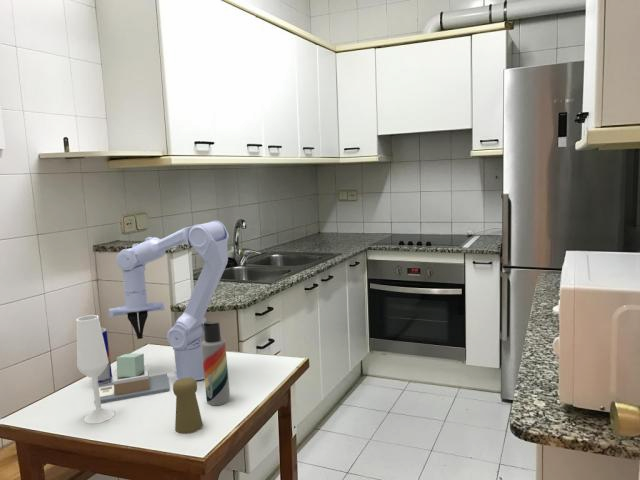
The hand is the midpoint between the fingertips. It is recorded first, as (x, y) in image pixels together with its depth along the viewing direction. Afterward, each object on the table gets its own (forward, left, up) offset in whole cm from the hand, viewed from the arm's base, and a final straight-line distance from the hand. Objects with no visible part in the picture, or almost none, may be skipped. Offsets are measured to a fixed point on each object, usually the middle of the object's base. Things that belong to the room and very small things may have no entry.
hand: (140, 337), depth 152 cm
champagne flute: (+10, +25, -11) cm, 29 cm away
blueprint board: (+3, +11, -10) cm, 16 cm away
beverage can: (+11, +2, -11) cm, 15 cm away
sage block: (+3, +11, -6) cm, 13 cm away
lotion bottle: (-17, +28, -11) cm, 35 cm away
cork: (-9, +39, -11) cm, 42 cm away
